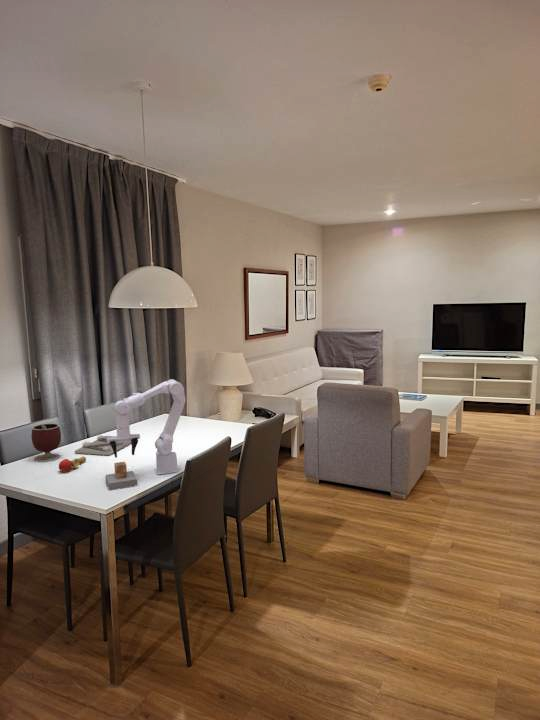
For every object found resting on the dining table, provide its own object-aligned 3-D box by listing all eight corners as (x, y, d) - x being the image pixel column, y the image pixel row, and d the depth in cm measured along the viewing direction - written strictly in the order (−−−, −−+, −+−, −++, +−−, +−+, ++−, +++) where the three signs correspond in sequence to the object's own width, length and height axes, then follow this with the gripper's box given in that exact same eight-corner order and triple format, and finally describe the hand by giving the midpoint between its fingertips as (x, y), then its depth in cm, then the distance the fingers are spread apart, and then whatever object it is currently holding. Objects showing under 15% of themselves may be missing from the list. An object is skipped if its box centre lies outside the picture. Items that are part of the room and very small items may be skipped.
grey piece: (104, 439, 297) (104, 427, 296) (137, 441, 292) (137, 429, 291) (73, 454, 268) (72, 441, 267) (109, 457, 263) (108, 444, 262)
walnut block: (125, 474, 227) (124, 461, 226) (126, 477, 223) (126, 464, 222) (114, 475, 225) (114, 463, 224) (116, 479, 221) (115, 466, 220)
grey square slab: (132, 477, 232) (132, 470, 231) (137, 485, 221) (137, 479, 221) (105, 481, 227) (105, 474, 226) (109, 490, 216) (108, 483, 216)
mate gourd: (36, 455, 265) (33, 418, 263) (64, 453, 269) (61, 417, 266) (29, 465, 250) (27, 426, 248) (59, 462, 254) (57, 424, 251)
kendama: (75, 464, 256) (53, 471, 238) (77, 452, 255) (55, 458, 238) (88, 467, 254) (67, 475, 236) (91, 455, 254) (69, 461, 236)
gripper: (137, 423, 235) (138, 451, 237) (105, 427, 229) (106, 455, 231) (140, 426, 229) (141, 455, 231) (107, 430, 223) (109, 460, 224)
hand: (124, 455), depth 230 cm, fingers open, 7 cm apart
